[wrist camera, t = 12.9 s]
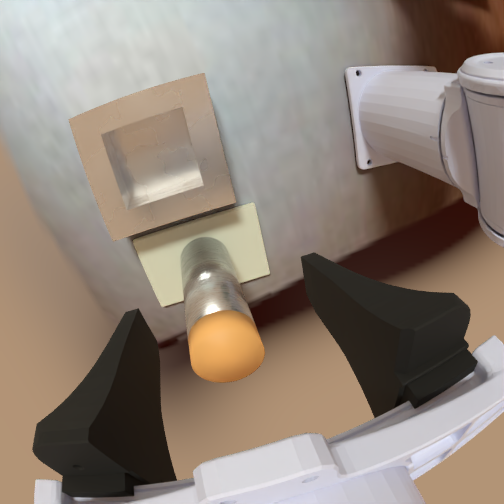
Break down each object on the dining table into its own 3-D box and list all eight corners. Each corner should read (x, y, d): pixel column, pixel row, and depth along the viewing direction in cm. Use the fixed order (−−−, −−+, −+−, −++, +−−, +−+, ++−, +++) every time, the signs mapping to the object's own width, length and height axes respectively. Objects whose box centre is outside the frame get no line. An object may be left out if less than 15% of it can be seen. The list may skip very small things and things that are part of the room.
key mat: (253, 202, 22) (254, 204, 22) (268, 270, 26) (269, 273, 25) (133, 239, 22) (132, 242, 21) (161, 303, 25) (161, 307, 24)
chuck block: (200, 76, 18) (204, 72, 15) (228, 188, 22) (236, 202, 19) (82, 116, 17) (68, 119, 14) (119, 223, 21) (113, 241, 18)
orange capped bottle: (221, 230, 22) (256, 322, 14) (233, 271, 24) (270, 369, 16) (173, 245, 22) (180, 345, 13) (188, 285, 24) (204, 389, 15)
